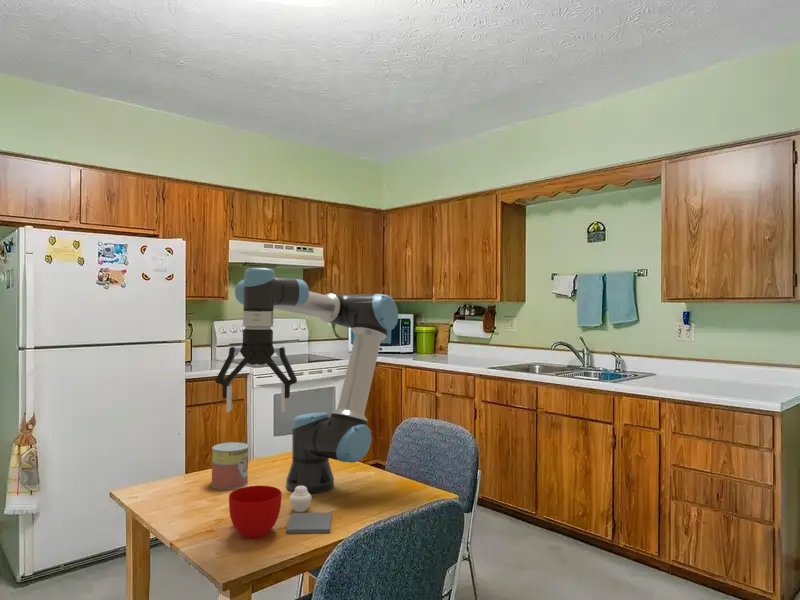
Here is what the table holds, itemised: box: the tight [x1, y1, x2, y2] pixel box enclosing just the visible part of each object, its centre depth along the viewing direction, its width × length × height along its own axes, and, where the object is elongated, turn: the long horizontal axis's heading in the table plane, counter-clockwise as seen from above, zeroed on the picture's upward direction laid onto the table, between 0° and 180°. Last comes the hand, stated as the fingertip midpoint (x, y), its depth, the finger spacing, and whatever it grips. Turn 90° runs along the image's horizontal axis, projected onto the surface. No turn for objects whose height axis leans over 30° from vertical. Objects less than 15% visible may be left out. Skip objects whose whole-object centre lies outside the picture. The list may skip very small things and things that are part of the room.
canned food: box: [210, 441, 249, 490], centre depth 176 cm, size 11×11×12 cm
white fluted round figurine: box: [289, 486, 312, 513], centre depth 155 cm, size 6×6×7 cm
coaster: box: [285, 512, 333, 535], centre depth 144 cm, size 11×11×1 cm
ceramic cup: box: [228, 485, 282, 540], centre depth 140 cm, size 13×17×10 cm
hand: (256, 411), depth 140 cm, fingers open, 13 cm apart
